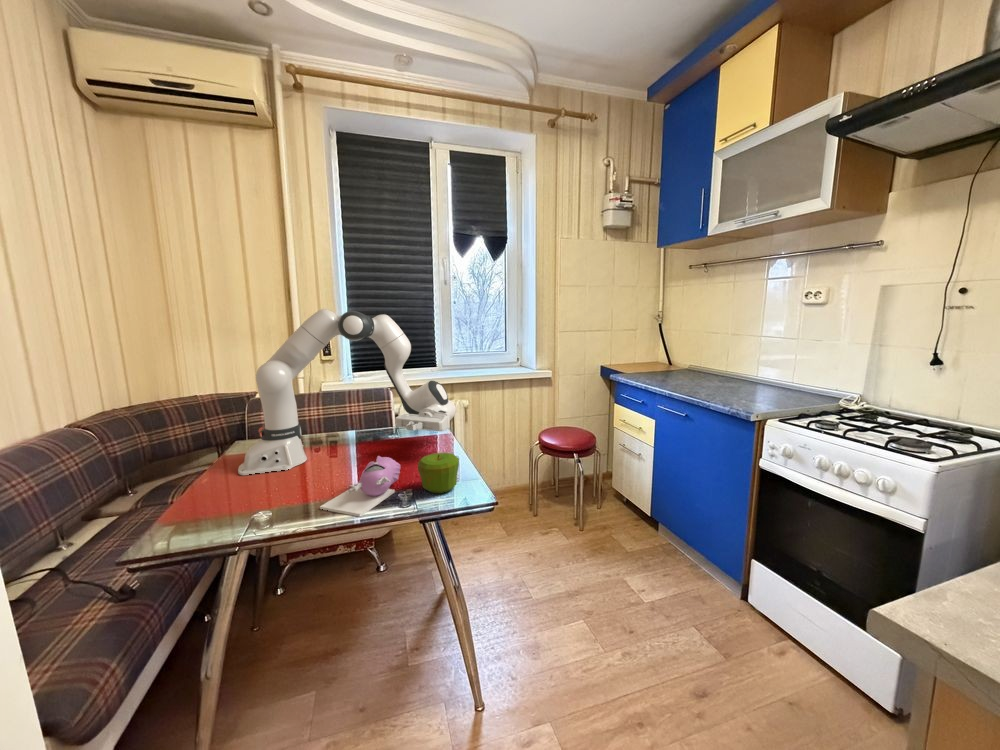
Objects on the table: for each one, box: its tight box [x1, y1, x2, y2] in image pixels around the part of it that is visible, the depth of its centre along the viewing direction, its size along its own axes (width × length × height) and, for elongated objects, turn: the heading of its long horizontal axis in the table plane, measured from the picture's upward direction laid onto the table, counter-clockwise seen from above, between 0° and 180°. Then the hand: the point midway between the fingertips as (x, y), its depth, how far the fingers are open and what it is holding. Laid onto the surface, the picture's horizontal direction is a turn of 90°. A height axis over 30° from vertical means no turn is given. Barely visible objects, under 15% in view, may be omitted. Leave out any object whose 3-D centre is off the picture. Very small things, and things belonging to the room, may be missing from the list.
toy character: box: [346, 455, 402, 496], centre depth 125 cm, size 12×10×20 cm
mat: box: [319, 487, 396, 517], centre depth 122 cm, size 16×14×1 cm
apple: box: [417, 452, 460, 494], centre depth 128 cm, size 12×12×11 cm
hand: (409, 427), depth 147 cm, fingers closed
